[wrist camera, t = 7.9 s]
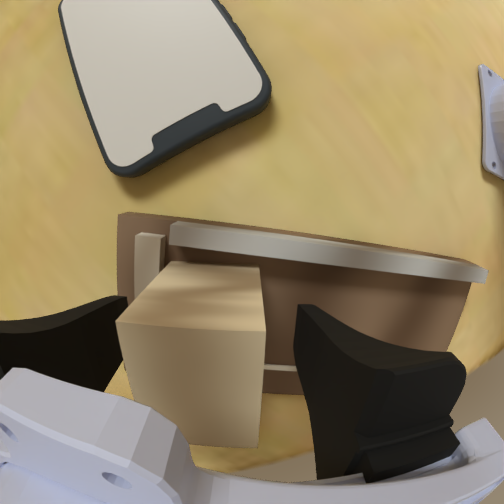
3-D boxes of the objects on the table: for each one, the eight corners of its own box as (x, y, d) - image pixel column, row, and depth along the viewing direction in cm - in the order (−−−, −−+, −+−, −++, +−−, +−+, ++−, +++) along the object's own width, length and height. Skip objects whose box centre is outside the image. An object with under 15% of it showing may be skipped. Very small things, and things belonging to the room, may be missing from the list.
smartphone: (64, 10, 10) (125, 188, 13) (53, 2, 9) (111, 188, 12) (172, -51, 9) (281, 107, 12) (168, -64, 8) (284, 97, 11)
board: (464, 259, 14) (488, 270, 12) (421, 377, 16) (436, 396, 14) (128, 211, 13) (106, 218, 11) (131, 359, 15) (117, 382, 13)
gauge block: (258, 263, 13) (266, 331, 7) (254, 356, 14) (257, 448, 8) (171, 260, 13) (115, 321, 7) (178, 352, 14) (146, 437, 8)
